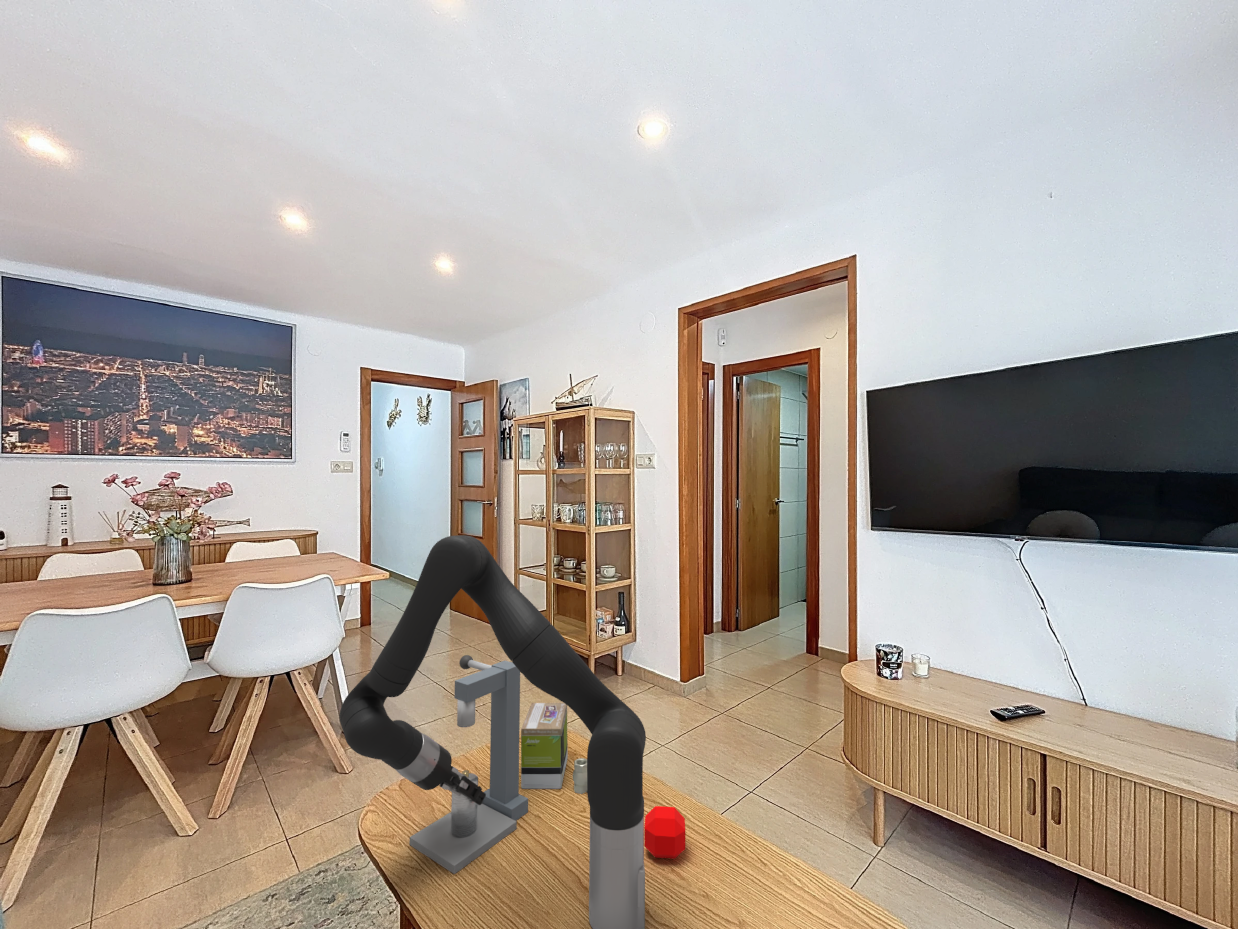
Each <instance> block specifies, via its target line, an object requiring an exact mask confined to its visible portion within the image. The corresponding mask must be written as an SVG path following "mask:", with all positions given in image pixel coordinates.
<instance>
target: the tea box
mask: <svg viewBox="0 0 1238 929" xmlns="http://www.w3.org/2000/svg"><path fill="white" fill-rule="evenodd" d="M568 750H569V746H568V705H566V704H565V703H563V702H538V703H537V702H531V704H530V706H529V708H528V711H527V714H526V717H525V719H524V721H523V724H522V727H520V780H521V781H520V783H521V784H520V785H521V786H520V788H521V789H522V790H524V789H525V790H560V789H562V786H563V781H564V776H565V771H566V767H567V762H568V755H569V754H568Z"/></svg>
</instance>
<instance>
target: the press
mask: <svg viewBox="0 0 1238 929" xmlns="http://www.w3.org/2000/svg"><path fill="white" fill-rule="evenodd" d="M459 666H460V668H461V669H463V670H469V669H475V670H478V672H475V673H472V674H469V675H466V676H464V677H462V678H459V679H455V680H454V699H455V700H457V708H456V710H457V712H456V713H457V714H456V715H457V716H456V725H457V727H458V728H470V727H472V726H474V725H475V723H476V700H477V699H480V698H482V697H484V696H487V695H489V694H490V695H491V696H490V740H489V741H490V742H489V744H490V747H489V748H490V749H489V751H490V755H489V788H487V789H486V790H483V792H484V793H485V794H486V796H485V798H484V800H483V802H482V804H481V805H478V807H477V830H476V831H475V833H473V834H472V835H470V836H468V837H464V838H457V837H454V836H453V835H452V834H451V811H450V812H449V813H447V814H445V815H443V816H442V817H441V818H439V819H437V820H435V821H434V822H432V823H431V824H429V825H427V826H426V827H423V828H422V829H421V830H419V831H417V832H416V833H414V834H412V835H411V836H409V846H411V847H412V848H414V850H416V851H418V852H419V853H421V854H423V855H425V856H426V857H428V858H429V859H430V860H432V861H433V862H435V863H436V864H438V865H440V866H441V867H443V868H444V869H445V870H447V871H449V872H451V873H452V874H453V875H455V874H457V873H459V872H460V871H461V870H462V869H463V868H465V867H467V865H469V864H470V863H472V862H473V861H474V860H476V859H477V858H478V857H480V856H481V855H483V854H484V853H485V852H487V851H488V850H490V849H491V848H493V847H494V846H495V845H496V844H498V843H499V842H500V841H501V840H503V839H504V838H506V837H507V836H509V835H510V834H512V833H513V832H514V831H515V830H517V828H518V827H517V825H518V823H517V821H518V820H520V818H522V817H523V816H525V815H526V814H527V813H529V798H528V797H526V796H524V795H522V794H521V793H519V791H520V790H519V788H520V785H519V784H520V783H519V782H520V779H519V778H520V775H519V774H520V730H521V727H520V726H521V725H520V724H521V721H520V720H521V718H520V717H521V716H520V715H521V714H520V712H521V709H520V708H521V706H520V705H521V672H520V671H519V670H518V668H517V667H516V666H515V665H514V664H513V663H512V661H508V660H503V661H499V662H497V663H494V664H492V665H490V664H487V663H483V662H481V661H477V660H474V658H473V656H472V655H468V654H465V655H463V656H461V657H460V659H459ZM471 861H472V862H471Z"/></svg>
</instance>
